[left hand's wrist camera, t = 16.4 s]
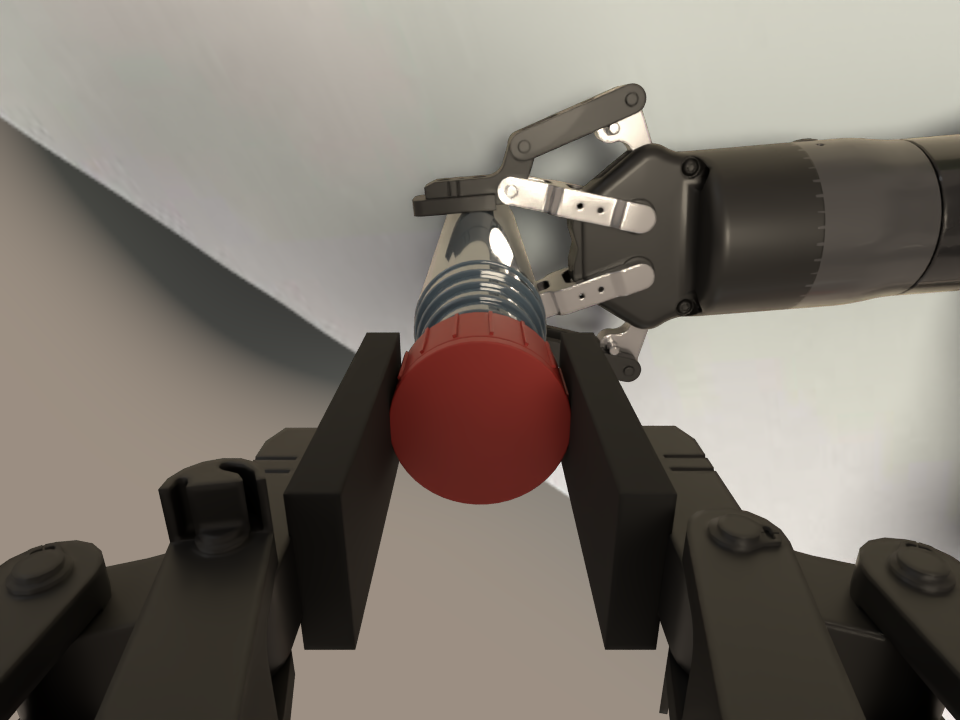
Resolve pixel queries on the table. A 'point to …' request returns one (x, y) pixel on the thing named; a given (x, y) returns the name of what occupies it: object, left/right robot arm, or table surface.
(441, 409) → the cap
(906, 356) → the table surface
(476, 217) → the bottle
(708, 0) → the table surface
